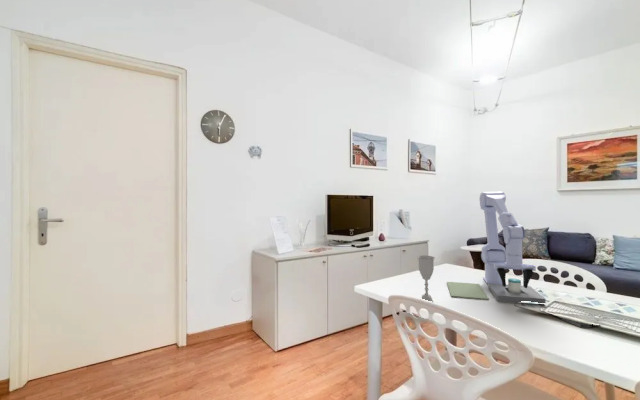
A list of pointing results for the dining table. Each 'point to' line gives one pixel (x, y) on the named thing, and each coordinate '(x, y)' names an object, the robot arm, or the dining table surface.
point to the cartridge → (514, 285)
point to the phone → (577, 323)
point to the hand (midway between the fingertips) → (514, 286)
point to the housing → (515, 294)
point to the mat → (466, 290)
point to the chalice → (426, 272)
